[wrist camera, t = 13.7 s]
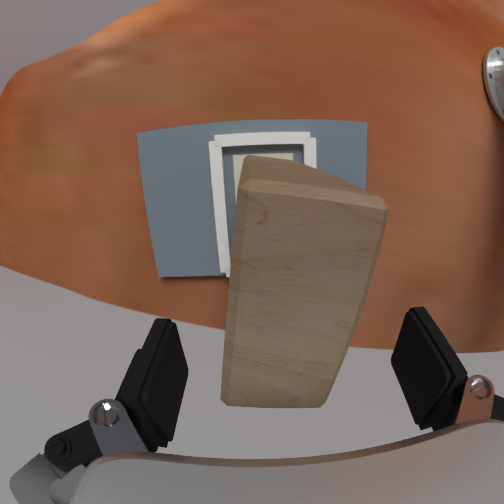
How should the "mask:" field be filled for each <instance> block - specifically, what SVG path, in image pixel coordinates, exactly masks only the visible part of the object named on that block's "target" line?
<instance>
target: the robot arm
mask: <svg viewBox="0 0 504 504" xmlns="http://www.w3.org/2000/svg"><path fill="white" fill-rule="evenodd" d="M483 78H484V83H485V87H486V91H487V94H488V97H489V100H490V102H491V104H492V106H493V108H494V110H495V112H496V113H497V115H498V116H499V117H500V119H501V120H502V121H503V122H504V48H501V47H494V48H491V49H489V50H488V51H487V52H486V54H485V57H484V61H483ZM391 364H392V367H393V369H394V372H395V374H396V376H397V379H398V381H399V384H400V386H401V388H402V391H403V393H404V396H405V398H406V401H407V403H408V406H409V409H410V411H411V414H412V417H413V419H414V422H415V424H417V425H419V427H420V430H423V429H427V428H430V427H432V429H433V432H430V433H427V434H423V435H420V436H416V437H413V438H409V439H406V440H402V441H398V442H394V443H390V444H385V445H382V446H376V447H372V448H367V449H361V450H356V451H350V452H344V453H337V454H329V455H322V456H312V457H300V458H284V459H222V458H205V457H204V458H203V457H192V456H182V455H173V454H162V453H155V452H156V451H157V449H158V446H159V447H165V448H167V445H168V441H170V442H171V441H172V440H173V436H174V432H175V427H176V423H177V419H178V415H179V410H180V406H181V402H182V398H183V394H184V390H185V386H186V382H187V378H188V366H187V363H186V359H185V356H184V352H183V349H182V345H181V341H180V338H179V334H178V330H177V326H176V324H175V323H173V322H172V321H171V319H163V318H157V319H155V321H154V323H153V325H152V327H151V330H150V332H149V334H148V336H147V338H146V340H145V343H144V345H143V347H142V349H138V350H137V351H136V353H135V355H134V357H133V359H132V361H131V364H130V366H129V368H128V371H127V372H126V375H125V377H124V379H123V382H122V384H121V386H120V389H119V391H118V393H117V396H116V398H115V400H114V399H104V400H100V401H99V402H97V403H95V404H94V406H92V408H91V410H90V411H89V420H87V421H85V422H83V423H81V424H78V425H77V426H74V427H72V428H70V429H68V430H65V431H63V432H61V433H58V434H56V435H54V436H52V437H51V438H50V439H49V440H48V441H47V442H46V445H45V449H44V451H45V453H44V454H43V455H41V454H40V453H39V454H38V455H37V456H35V457H34V458H33V459H32V460H30V461H29V462H28V463H27V464H26V465H24V466H23V467H22V468H21V469H20V470H18V471H17V472H16V473H15V474H13V476H12V477H11V479H10V489H11V491H12V493H13V495H14V497H15V498H16V500H17V501H18V502H19V504H504V398H502V397H500V396H498V395H495V394H494V387H493V384H492V383H491V381H490V380H489V379H487V378H486V377H484V376H481V375H474V376H472V377H470V378H468V376H467V371H466V370H465V368H464V366H463V365H462V363H461V361H460V360H459V358H458V357H457V355H456V353H455V352H454V350H453V349H452V347H451V346H450V344H449V342H448V341H447V339H446V338H445V336H444V335H443V333H442V332H441V330H440V329H439V328H438V326H437V325H436V323H435V322H434V320H433V319H432V317H431V316H430V315H429V313H428V312H427V310H426V309H425V308H424V307H414V308H410V310H409V312H407V313H406V314H405V318H404V321H403V324H402V327H401V330H400V334H399V337H398V340H397V343H396V345H395V348H394V351H393V354H392V357H391ZM71 498H72V500H71ZM70 501H71V503H70Z"/></svg>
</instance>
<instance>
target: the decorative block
mask: <svg viewBox="0 0 504 504" xmlns="http://www.w3.org/2000/svg"><path fill="white" fill-rule="evenodd" d="M388 211H389V208H388V207H387V205H386V203H385V201H384V200H383V198H381V197H379V196H377V195H375V194H373V193H371V192H369V191H366V190H364V189H362V188H360V187H358V186H355V185H353V184H351V183H349V182H346V181H344V180H342V179H339V178H337V177H335V176H332V175H330V174H328V173H325V172H323V171H320V170H318V169H315V168H313V167H310V166H308V165H305V164H303V163H300V162H298V161H294V160H286V159H279V158H271V157H262V156H253V155H247V156H246V157H245V158H244V160H243V165H242V170H241V175H240V180H239V185H238V191H237V201H236V212H235V222H234V233H233V244H232V255H231V266H230V278H229V289H228V302H227V314H226V327H225V341H224V355H223V369H222V385H221V400H222V401H223V402H224V403H225V404H226V405H228V406H241V407H261V408H316V407H321V406H322V405H323V404H324V403H325V402H326V400H327V397H328V395H329V393H330V391H331V389H332V386H333V384H334V382H335V379H336V377H337V375H338V372H339V370H340V367H341V365H342V363H343V360H344V357H345V355H346V353H347V350H348V347H349V345H350V342H351V339H352V337H353V334H354V331H355V329H356V326H357V323H358V320H359V317H360V314H361V311H362V308H363V305H364V302H365V299H366V295H367V292H368V289H369V286H370V282H371V279H372V275H373V272H374V268H375V265H376V261H377V257H378V253H379V250H380V246H381V242H382V238H383V233H384V229H385V225H386V220H387V216H388Z"/></svg>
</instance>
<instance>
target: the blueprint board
mask: <svg viewBox="0 0 504 504" xmlns="http://www.w3.org/2000/svg"><path fill="white" fill-rule="evenodd" d="M137 142H138V152H139V161H140V169H141V177H142V185H143V192H144V199H145V205H146V212H147V218H148V224H149V230H150V235H151V241H152V246H153V251H154V256H155V261H156V266H157V271H158V275H159V277H184V276H218V275H226V277H230V266H231V255H232V244H233V233H234V222H235V212H236V201H237V191H238V185H239V180H240V175H241V170H242V165H243V160H244V158H245V157H246V156H247V155H253V156H262V157H271V158H279V159H286V160H294V161H298V162H300V163H303V164H305V165H308V166H310V167H313V168H315V169H318V170H320V171H323V172H325V173H328V174H330V175H332V176H335V177H337V178H339V179H342V180H344V181H346V182H349V183H351V184H353V185H355V186H358V187H360V188H362V189H364V190H366V170H367V122H355V121H339V120H315V119H269V120H244V121H229V122H216V123H206V124H196V125H187V126H179V127H172V128H165V129H159V130H152V131H146V132H141V133H137Z"/></svg>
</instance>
